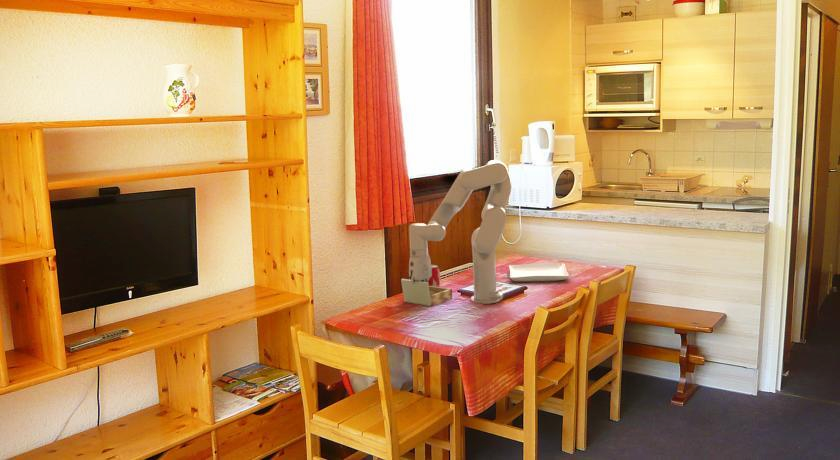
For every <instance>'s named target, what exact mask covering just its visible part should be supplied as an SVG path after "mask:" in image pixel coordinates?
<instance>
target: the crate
mask: <svg viewBox="0 0 840 460" xmlns="http://www.w3.org/2000/svg"><path fill="white" fill-rule="evenodd" d="M429 291H430V298H431V307H433V306H436V305H439V304H442V303H445V302H448V301H450V300H452V299H453V289H452V288H447V287H441V286H440V287H435V286H429Z"/></svg>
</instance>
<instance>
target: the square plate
mask: <svg viewBox="0 0 840 460" xmlns="http://www.w3.org/2000/svg"><path fill="white" fill-rule="evenodd" d="M508 268H509V279H511V280H512V281H514V282H520V283H521V282H525V283H526V282H556V281H557V282H558V281H563V280H565V279H566V280H567V279H568V277H569V276H570V274H569V272H568V270H567V268H566V264H565V263H563V262H562V263H527V264H526V263H524V264H510V265H509V266H508Z"/></svg>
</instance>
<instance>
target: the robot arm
mask: <svg viewBox="0 0 840 460" xmlns="http://www.w3.org/2000/svg"><path fill="white" fill-rule="evenodd" d="M511 179H512V178H511V176H510V173H509V170H508V167H507V166H506V164H505V163H504V162H502V161H500V160H497V159H493V160H489V161H488V162H487V163H486V164H485V165H483V166H479V167H476V168H470V167H467V168H464V169H462V170H461V171H460V172H459V173H458V175H457V177H456V178H455V180H454V182H453V183H452V185H451V187H450V188H449V190H448V192H447V193H446V195H445V197H444V198H443V200H442V201H441V203H440V204H439V206H438V207H437V209H436V210H434V213H433V215H432V216H431V217H430V220H429V221H428V223H427V224H426V223H423V222H415V223H411V224H409V226H408V234H409V235H408V236H409V261H408V262H409V263H408V277H409V280H411V283H412V284H414V281H422V282H426V281H427V280H428V279H429V278H430V277H431V276H432V268H431V265H432V262H431V257H430V254H429V247H428V242H431V241H432V242H440V241H442V240H444V238H445V237H446V233H447V232H446V228H447V227H448V225H449V223H450V222H451V220H452V218H453V217H454V216H455V215H456V214H457V213H458V212H459V211H461V210H462V209H463V207H464V206H465V204H466V203H467V201H468V199H469V198H470V196H471V194H472V193H473V192H474V191H475V190H480V189H484V188H487V187H489V186H490V190H489V191H488V192H489V193H488V196H487V199H486V201H485V204H484V205H483V208H482V211H481V219H482V220H481V223H480V226H479V227H477V228H476V229H474V230H473V232H472V234H471V242H470V243H471V252H472V273H473V295H472V296H471V297H470V301H471V302H474V303H480V305H489V304H491V305H492V304H495V303H499V302H500V301H501V300H503V298H504V294H503V293H499V289H497V272H496V271H497V267H496V266H497V265H496V249H497V248H498V245H499V243H500V241H501V238H502V235H503V233H504V229H505V227H506V224H507V219H508V217H507V213H506V207H507V205H508V202H509V199H510V197H511V191H512V180H511Z"/></svg>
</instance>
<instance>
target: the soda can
mask: <svg viewBox="0 0 840 460" xmlns="http://www.w3.org/2000/svg"><path fill="white" fill-rule="evenodd" d="M431 268H432V276H431V277H430V278H429V279H428V280H427V281H426V282H428V285H429V286H435V287H441V273H440V270H441V269H440V268H439V266H438V265H436V264H431Z"/></svg>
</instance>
